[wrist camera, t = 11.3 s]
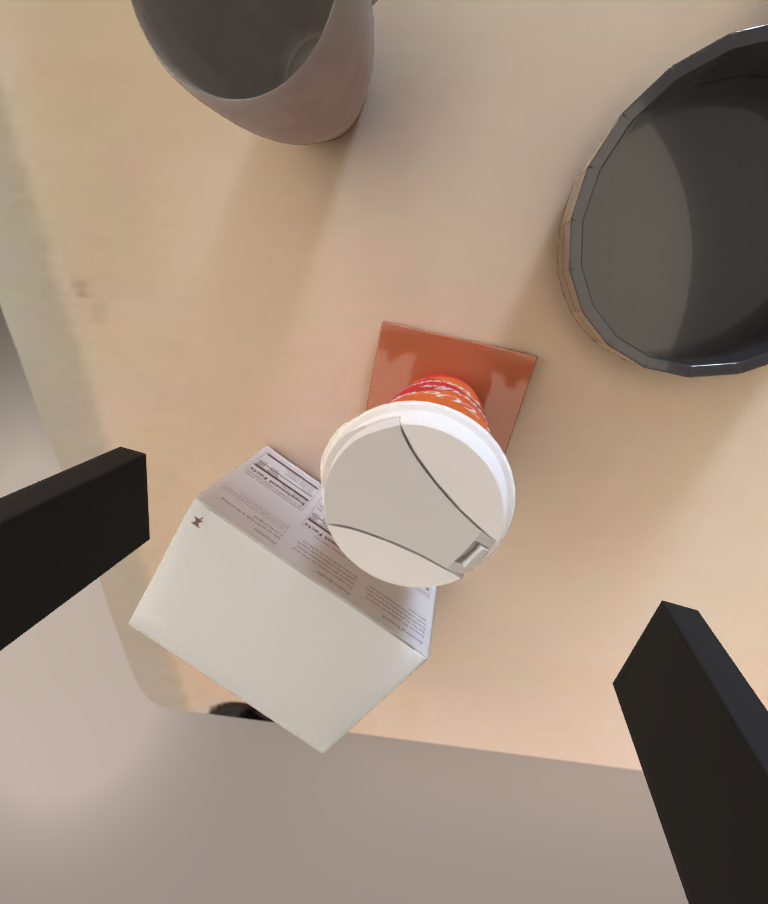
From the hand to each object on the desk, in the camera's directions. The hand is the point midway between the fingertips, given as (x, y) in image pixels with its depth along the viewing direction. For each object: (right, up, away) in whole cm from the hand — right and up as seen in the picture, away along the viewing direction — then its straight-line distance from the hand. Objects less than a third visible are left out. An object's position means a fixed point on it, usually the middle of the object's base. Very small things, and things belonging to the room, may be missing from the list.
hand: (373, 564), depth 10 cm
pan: (+17, +15, +12) cm, 25 cm away
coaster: (+4, +6, +18) cm, 19 cm away
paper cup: (+4, +6, +18) cm, 19 cm away
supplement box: (-5, -6, +24) cm, 26 cm away
